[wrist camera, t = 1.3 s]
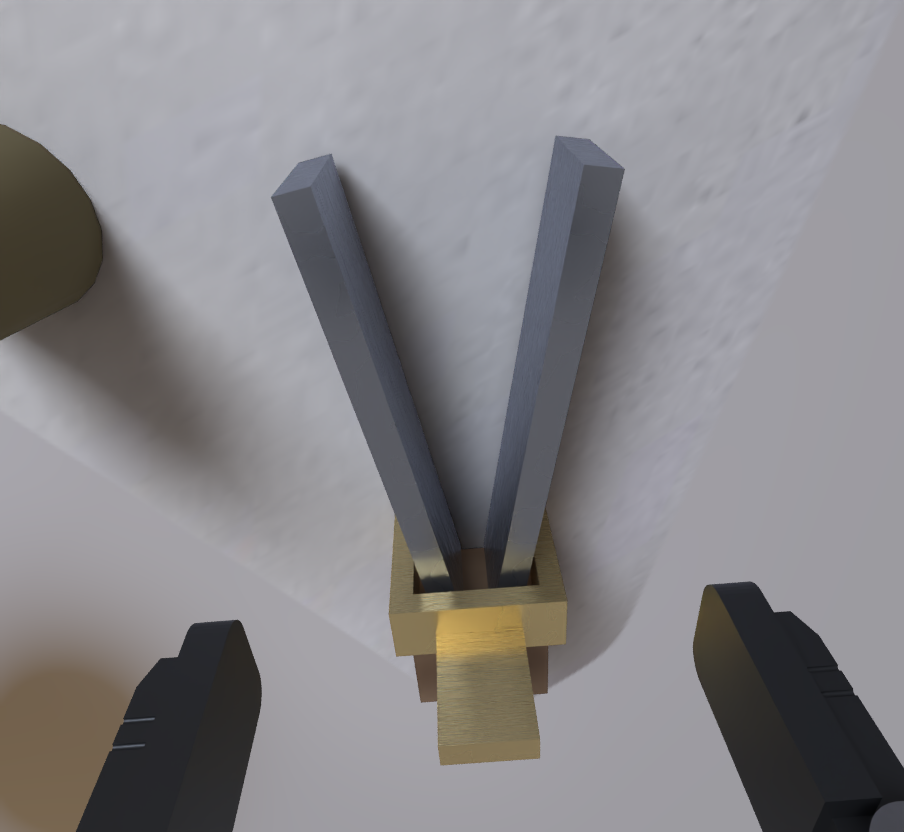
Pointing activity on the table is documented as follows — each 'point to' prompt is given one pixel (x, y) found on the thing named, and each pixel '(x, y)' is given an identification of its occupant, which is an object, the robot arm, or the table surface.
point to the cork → (42, 234)
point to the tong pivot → (477, 580)
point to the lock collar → (481, 652)
